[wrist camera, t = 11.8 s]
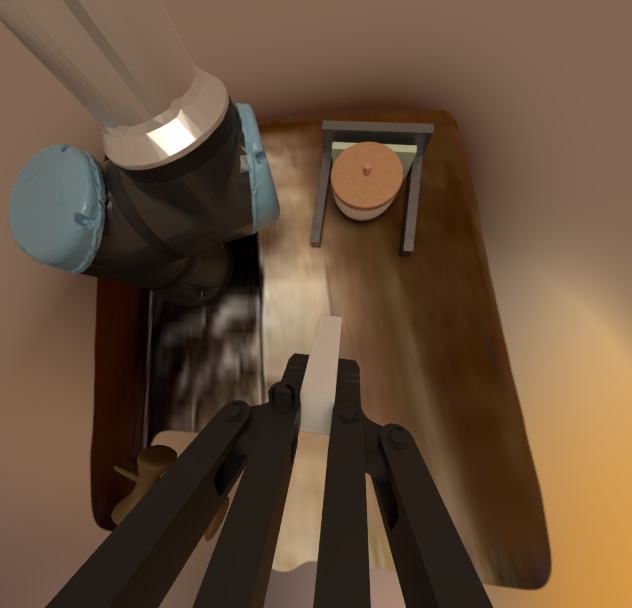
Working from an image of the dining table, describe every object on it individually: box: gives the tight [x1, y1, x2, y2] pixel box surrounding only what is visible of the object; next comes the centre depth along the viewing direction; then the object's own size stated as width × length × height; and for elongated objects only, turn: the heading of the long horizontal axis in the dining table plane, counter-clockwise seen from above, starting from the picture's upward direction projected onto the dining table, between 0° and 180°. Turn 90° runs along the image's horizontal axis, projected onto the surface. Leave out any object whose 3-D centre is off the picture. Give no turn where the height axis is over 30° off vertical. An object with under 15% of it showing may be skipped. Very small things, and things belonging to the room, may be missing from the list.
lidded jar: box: [331, 142, 403, 221], centre depth 37 cm, size 11×11×9 cm
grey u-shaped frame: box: [310, 121, 434, 256], centre depth 38 cm, size 17×18×7 cm
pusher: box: [332, 142, 417, 178], centre depth 39 cm, size 13×1×6 cm, turn 82°
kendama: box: [111, 445, 229, 541], centre depth 36 cm, size 6×10×20 cm
